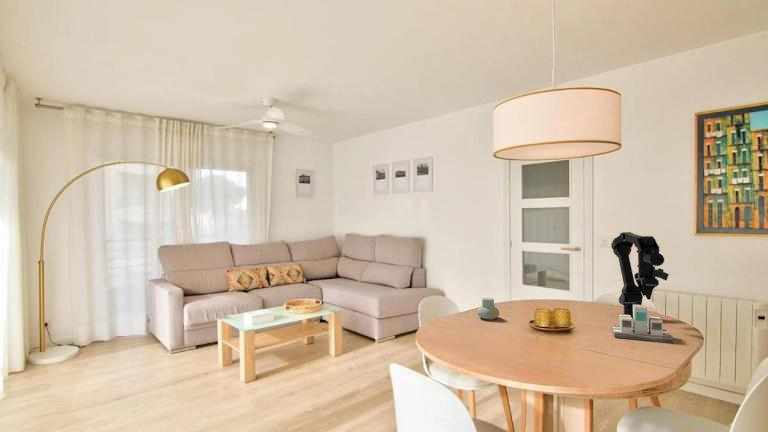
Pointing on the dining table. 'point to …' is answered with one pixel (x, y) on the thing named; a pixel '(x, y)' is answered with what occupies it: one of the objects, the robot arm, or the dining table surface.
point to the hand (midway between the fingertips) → (646, 297)
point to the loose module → (640, 319)
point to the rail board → (654, 334)
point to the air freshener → (488, 309)
